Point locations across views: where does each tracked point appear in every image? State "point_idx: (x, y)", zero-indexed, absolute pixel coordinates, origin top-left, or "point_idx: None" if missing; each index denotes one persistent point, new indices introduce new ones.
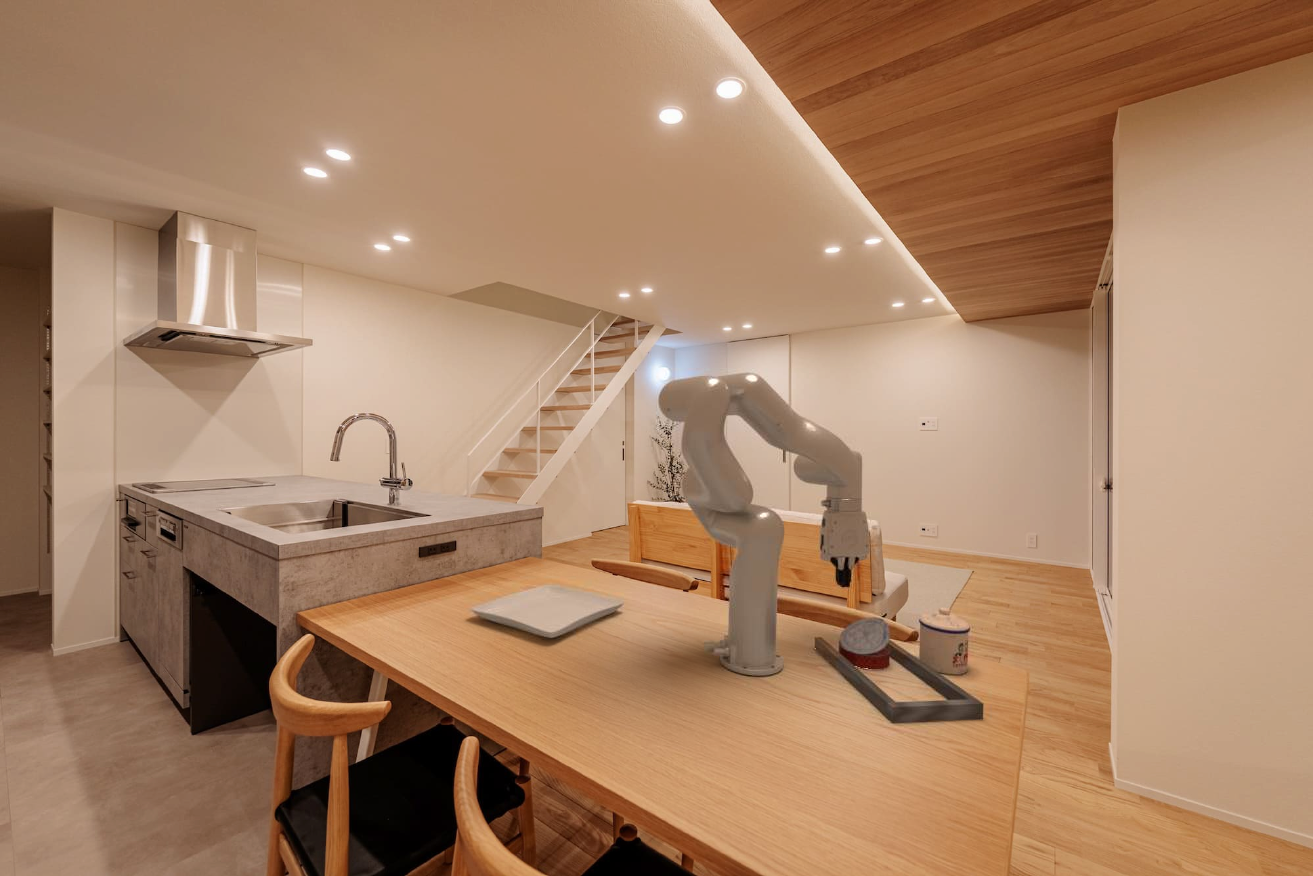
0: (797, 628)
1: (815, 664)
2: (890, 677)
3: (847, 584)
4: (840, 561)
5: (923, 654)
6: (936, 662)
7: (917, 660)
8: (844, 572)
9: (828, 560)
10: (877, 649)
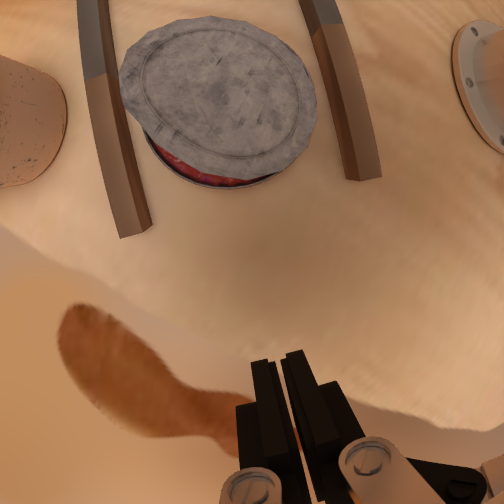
0: (370, 334)
1: (380, 66)
2: (187, 9)
3: (270, 370)
4: (402, 501)
5: (50, 99)
6: (39, 71)
7: (88, 40)
8: (323, 424)
9: (500, 463)
10: (204, 22)
